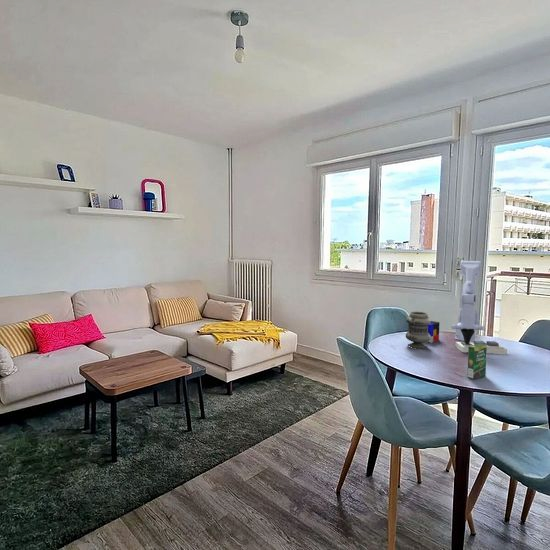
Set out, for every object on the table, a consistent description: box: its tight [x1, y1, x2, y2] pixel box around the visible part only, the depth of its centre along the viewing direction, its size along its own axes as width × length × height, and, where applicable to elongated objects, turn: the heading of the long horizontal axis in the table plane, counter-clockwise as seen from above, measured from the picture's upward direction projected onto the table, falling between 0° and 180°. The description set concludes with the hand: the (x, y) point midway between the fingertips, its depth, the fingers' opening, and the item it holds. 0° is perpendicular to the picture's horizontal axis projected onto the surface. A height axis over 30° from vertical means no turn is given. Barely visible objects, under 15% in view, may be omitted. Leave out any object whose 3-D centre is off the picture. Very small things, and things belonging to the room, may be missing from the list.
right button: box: [485, 340, 500, 347], centre depth 178 cm, size 4×4×2 cm
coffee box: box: [466, 343, 487, 380], centre depth 141 cm, size 8×3×13 cm, turn 117°
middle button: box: [473, 340, 487, 345], centre depth 179 cm, size 4×4×2 cm
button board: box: [455, 341, 508, 355], centre depth 178 cm, size 20×10×3 cm, turn 81°
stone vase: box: [405, 310, 432, 350], centre depth 183 cm, size 12×12×18 cm
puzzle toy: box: [427, 320, 440, 343], centre depth 198 cm, size 10×10×10 cm
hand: (466, 343), depth 180 cm, fingers closed, pressing on left button
